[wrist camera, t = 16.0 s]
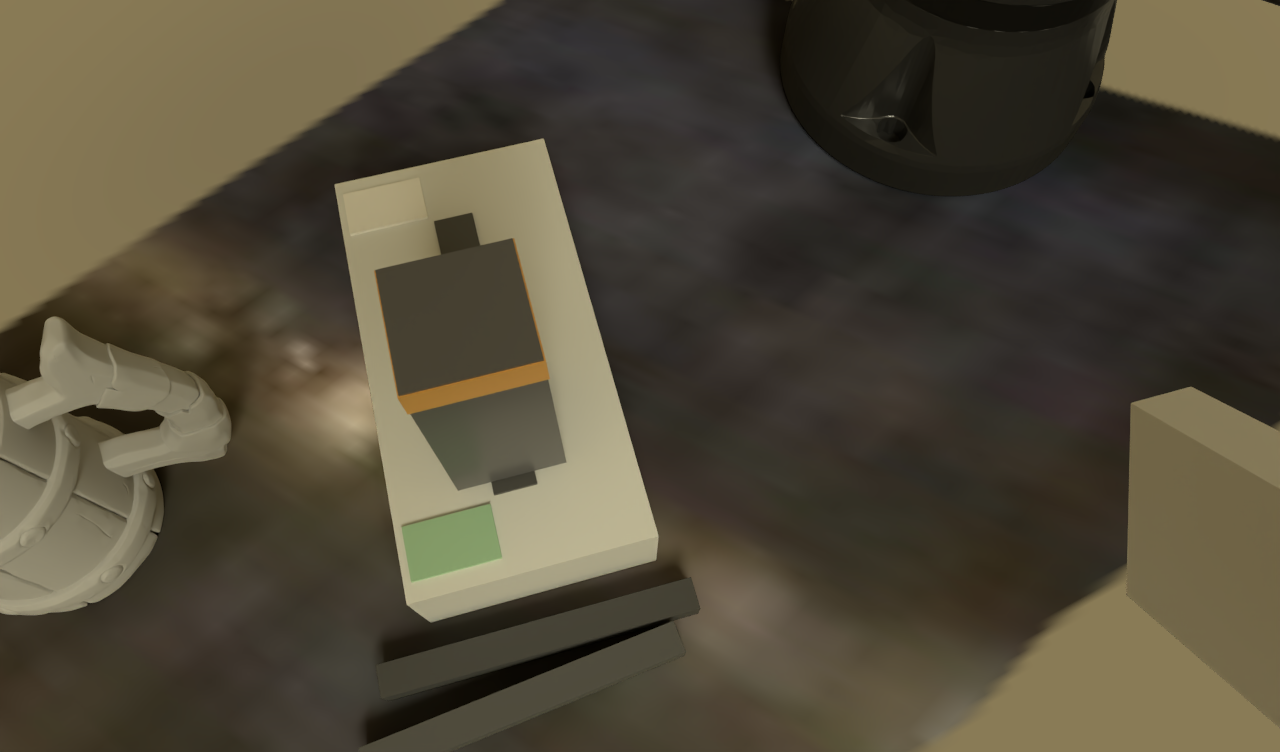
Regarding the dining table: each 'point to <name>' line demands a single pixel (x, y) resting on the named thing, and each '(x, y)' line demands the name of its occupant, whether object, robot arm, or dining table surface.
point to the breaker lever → (471, 362)
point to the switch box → (579, 380)
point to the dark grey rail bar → (536, 639)
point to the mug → (90, 468)
